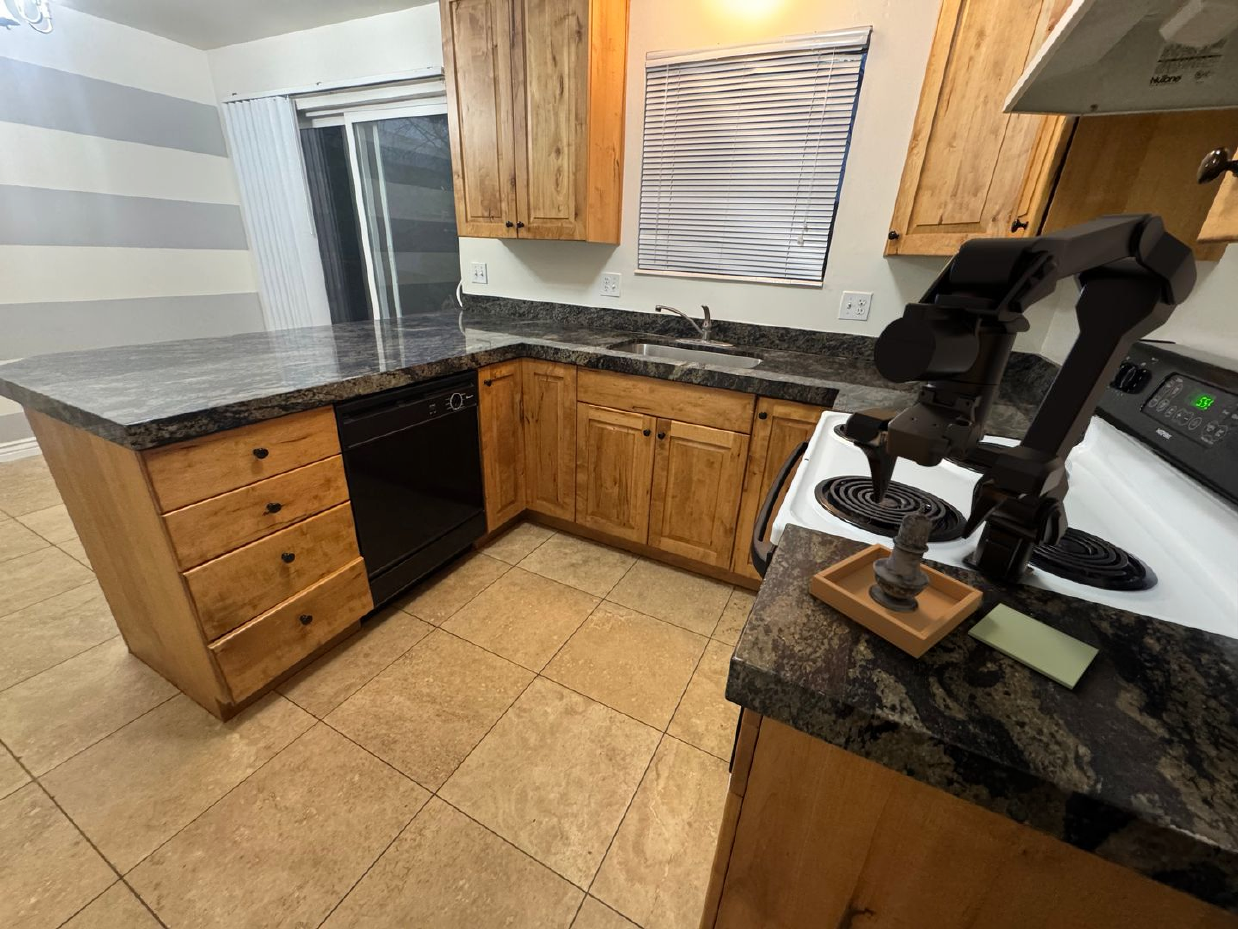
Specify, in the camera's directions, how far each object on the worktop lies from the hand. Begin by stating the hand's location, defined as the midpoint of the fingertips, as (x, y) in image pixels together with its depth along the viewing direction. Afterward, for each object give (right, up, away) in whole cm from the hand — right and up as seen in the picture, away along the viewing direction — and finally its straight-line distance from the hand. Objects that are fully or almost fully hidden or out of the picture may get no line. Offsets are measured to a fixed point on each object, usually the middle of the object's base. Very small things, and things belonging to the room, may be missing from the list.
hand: (919, 519), depth 54 cm
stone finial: (-1, -10, +4) cm, 11 cm away
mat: (+11, -13, -1) cm, 17 cm away
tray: (-1, -10, +4) cm, 11 cm away
